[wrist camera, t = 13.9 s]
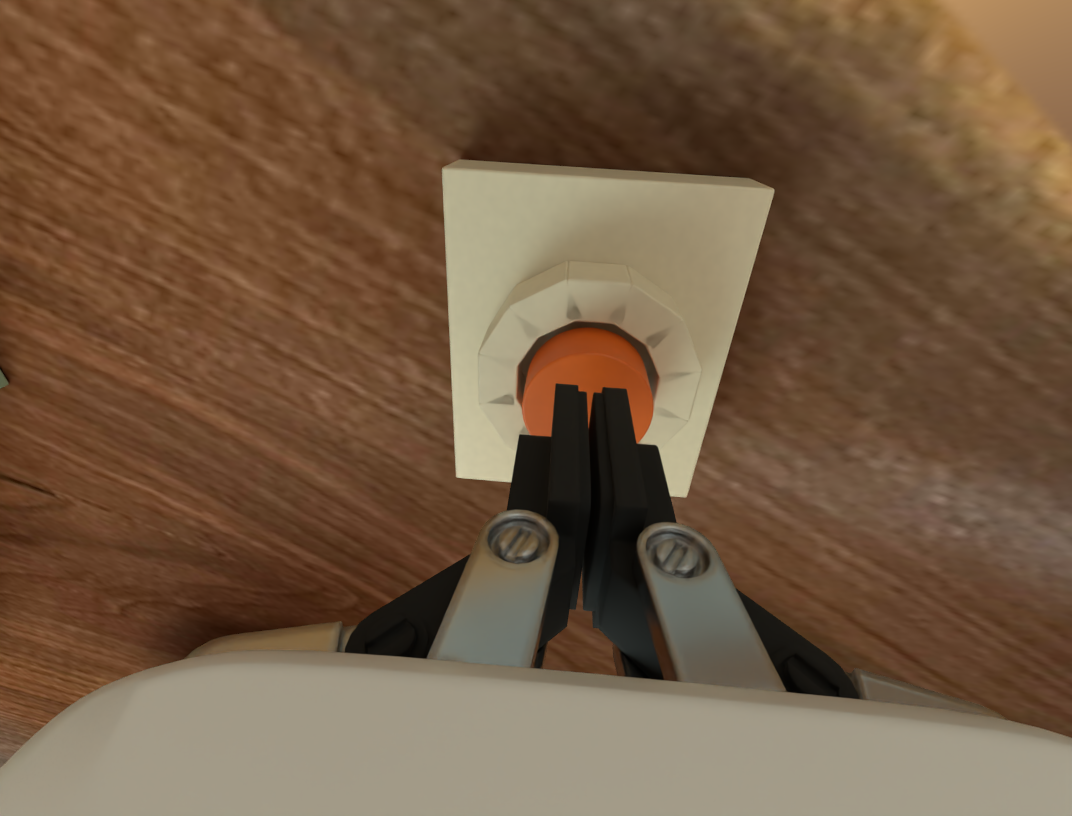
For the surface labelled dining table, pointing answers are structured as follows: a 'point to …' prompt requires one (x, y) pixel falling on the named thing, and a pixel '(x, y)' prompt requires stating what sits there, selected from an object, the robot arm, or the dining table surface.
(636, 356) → the button
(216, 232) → the dining table surface
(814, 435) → the dining table surface
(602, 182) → the panel
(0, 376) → the green hinged box
